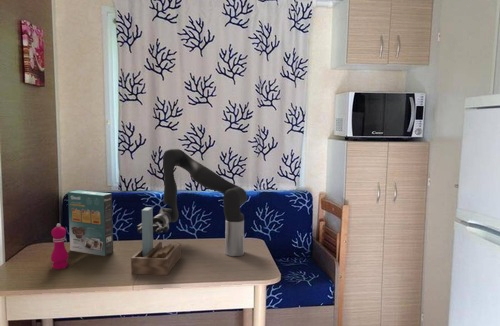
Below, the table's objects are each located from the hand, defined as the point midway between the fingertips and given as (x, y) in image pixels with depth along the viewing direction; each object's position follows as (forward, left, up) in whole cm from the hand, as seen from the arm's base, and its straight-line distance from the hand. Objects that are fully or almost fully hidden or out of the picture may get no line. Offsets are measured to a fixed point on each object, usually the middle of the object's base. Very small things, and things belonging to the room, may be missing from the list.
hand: (148, 231), depth 188 cm
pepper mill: (+38, +9, -15) cm, 42 cm away
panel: (0, +1, -15) cm, 15 cm away
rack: (-5, +1, -15) cm, 16 cm away
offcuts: (-7, +1, -15) cm, 17 cm away
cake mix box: (+34, -13, -15) cm, 39 cm away
